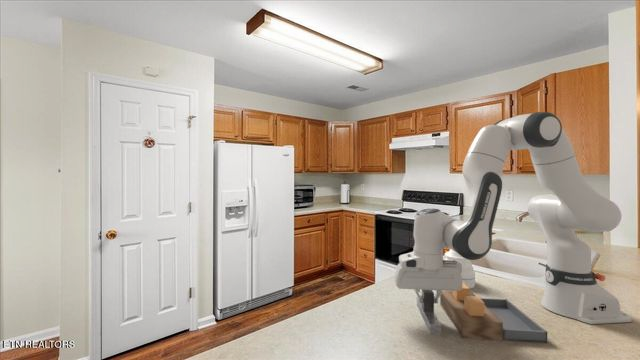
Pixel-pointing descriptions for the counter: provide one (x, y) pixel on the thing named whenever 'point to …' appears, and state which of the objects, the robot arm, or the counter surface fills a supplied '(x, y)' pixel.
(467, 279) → the honey pot
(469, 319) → the ledge
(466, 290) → the block
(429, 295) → the grey stick with cube
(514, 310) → the tray
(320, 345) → the counter surface
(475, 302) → the block
